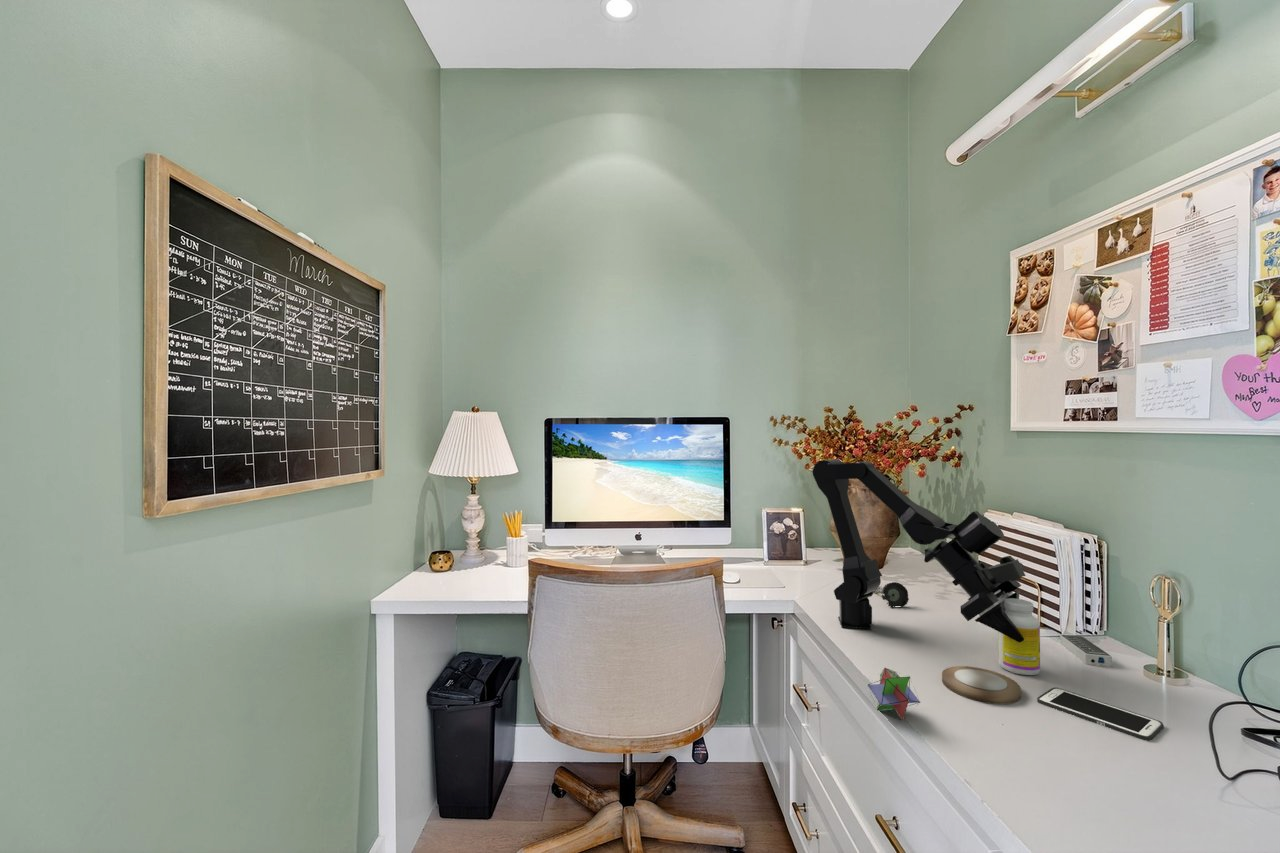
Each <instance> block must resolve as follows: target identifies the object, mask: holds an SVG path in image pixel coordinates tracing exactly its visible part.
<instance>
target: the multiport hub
mask: <svg viewBox="0 0 1280 853" xmlns="http://www.w3.org/2000/svg"><path fill="white" fill-rule="evenodd" d="M1059 644H1060V646H1062V647H1063V646H1064V647H1065V649H1066V650H1067V651H1068V652H1069V653H1071V654H1072V655H1073V656H1074V657H1075V658H1077V659H1079V660H1080V661H1081V662H1082V663H1084V664H1086V665H1090V666H1098V667H1099V666H1102V667H1113V666H1112V665H1113V660H1112V655H1111V654H1109V653H1108V652H1106V651H1105V650H1104V649H1102V648H1100V647H1099V646H1097V645H1096V644H1094V643H1093V642H1092V641H1090V640H1089V639H1087V637H1084V636H1082V635H1081V636H1080V635H1067V634H1060V635H1059ZM1064 647H1063V648H1064Z"/></svg>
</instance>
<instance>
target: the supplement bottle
mask: <svg viewBox="0 0 1280 853" xmlns="http://www.w3.org/2000/svg"><path fill="white" fill-rule="evenodd" d="M1004 606H1005V613H1006V615H1007V616H1008V617H1009V618H1010V620H1011V621H1012V622H1013V624H1014V625H1015V626H1016V628H1017V629H1018V630H1019V632H1020V633H1021V635H1022V636H1023V638H1024V640H1023V641H1022V642H1017V641H1015V640H1013V639H1012V638H1010V637H1008V636H1006V635H1004V634H1002V633H1000V632H998V631H997V632H998V633H997V636H998V637H997V642H998V644H997V647H998V649H997V650H998V654H997V655H998V664H999V666H1000V667H1001V668H1002V669H1003V670H1006V671H1008V672H1010V673H1012V674H1013V673H1014V674H1017V675H1024V676H1034V675H1035V676H1036V675H1038V674H1039V673H1040V672H1041V632H1040V630H1041V624H1040V621H1039V619H1038V618H1037V617H1035V616H1034V615H1033V611H1034V603H1033V602H1031V601H1030V600H1029V601H1028V600H1025V599H1021V598H1019V599H1015V598H1007V599H1004Z"/></svg>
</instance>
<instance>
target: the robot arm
mask: <svg viewBox="0 0 1280 853" xmlns="http://www.w3.org/2000/svg"><path fill="white" fill-rule="evenodd" d="M811 474H812V476H813V479H814V481H815V483H816V485H817V488H818V489H819V490H820V492H822V494H823V495H824V496H825V498H826V499H827V503H828V506H829V510H830V513H831V517H832V519H833V522H834V526H835V529H836V533H837V538H838V540H839V544H840V547H841V551H842V554H843V564H842V580H843V582H842V583H841V584H839V585H838V586H837V587H835V588H834V589H833V594H834V596H835V599H836V600H837V601H838V602H839V616H838V617H837V618H838V622H839V624H840V627H841V628H844V629H845V628H847V629H861V630H871V629H872V626H871V625H872V624H873V607H872V605H871V604H870V599H869V598H871V597H872V596H873V595H874V593H873V592H876V590H877V589H879V587H880V585H881V583H882V581H881V577H883V574H882V573H881V571H880V568H879V562H878V560H877V558H873V559H871V558H870V557H869V556H868V554H867V553H866V551H865V549H864V544H863V542H862V539H861V535H860V532H859V529H858V526H857V522H856V521H857V520H856V519H855V515H854V512H853V509H852V505H851V502H850V498H849V496H848V495H849V494H848V491H849V483H850V479H851V480H852V479H854V480H855V479H858V480H859V481H860V482H861V483H862V484H863V485H864V486H865V487H866V488H867V489H868V490H869V491H870V492H871V493H872V494H873V495H875V496H876V497H877V498H878V499H879V500H880V501H881V502H882V503H883V504H884V505H885V506H886V507H887V508H888V509H889V510H890V511H892V512H893V514H895V515H896V517H897V518H898V520H899V523H900V524H901V526H902V528H903V530H904V531H905V532H906V534H907V535H908V536H909V537H910V539H911V540H912V541H913V542H915V544H917V545H925V546H926V545H931V544H934V543H937V542H938V544H936V545H935V546H934V547H933V548H931V547H928V548H925V549H924V563H929V562H932V561H934V560H936V561H937V562H938V563H939V564H940V565H941V567H943V568H944V570H945V571H946V572H947V573H948V574H949V575H950V577H952V579H953V580H952V581H951V582H952V583H953V585H954V586H958V585H959V586H960V587H961V588H962V589H963V590H964V592H965V593H966V594H967V595H968V596H969V598H968V599H967V601H966V602H964V603H963V604H961V605H960V614H961V615H962V616H963V618H965V619H966V621H967V622H969V621H971V620H973V619H974V618H975V617H977V616H978V617H977V618H975V619H974V621H975V622H976V623H981V624H982V625H984V626H987V627H989V628H991V629H993V630H995V631H997V632H1000V633H1002V634H1004V635H1006V636H1008V637H1010V638H1012V639H1013V640H1015V641H1017V642H1022V641H1023V640H1024V638H1023V636H1022V635H1021V633H1020V632H1019V630H1018V629H1017V628H1016V626H1015V625H1014V624H1013V622H1012V621H1011V620H1010V618H1009V617H1008V616H1007V615H1006V613H1005V606H1004V599H1007V598H1015V599H1020V593H1021V590H1020V589H1018V588H1021V586H1022V584H1021V583H1020V582H1019V581H1018V580H1021V579H1022V578H1023V577H1026V576H1027V575H1026V573H1025V571H1024V570H1023V567H1024V565H1023V563H1022V562H1020V561H1019V559H1016V558H1014V557H1012V556H1011V555H1006V556H1003V557H1000V559H999V563H997V564H995V565H991V566H989V565H988V564H987V563H986V562H983V561H980V562H978V561H977V559H975V558H974V557H973V555H972V554H974V553H975V554H978V555H981V554H983V553H984V552H985V551H987V550H988V549H989V548H991V547H992V546H993V545H995V544H996V543H997V542H999V541H1000V540H1002V539H1003V538H1004V537H1005V534H1004V532H1003V530H1002V529H1001V528H1000V526H998V525H997V524H996V523H995V522H994V521H992V520H991V519H989V518H988V517H986V516H985V515H983V514H981V513H980V512H979V511H978V510H975V511H972V512H971V513H969V514H968V515H967V516H966V518H965V519H964V520H962V521H961V522H960V523H958V524H956V523H951V522H947V521H945V520H943V518H942V517H940V516H939V515H937V514H936V513H934V512H933V511H931V510H929V509H927V508H925V507H924V506H921V505H919V504H917V503H915V502H914V501H913V500H912V499H910V498H909V496H907V495H906V494H905V493H904V492H903V491H902V490H901V489H899V487H897V486H896V485H895V484H894V483H893V482H892V481H890V480H889V478H888V477H886V476H885V474H883V473H882V472H881V471H880V470H879V469H877V467H876V466H875V465H874V463H873V462H870V461H867V460H866V461H857V462H844V461H842V460H840V459H838V458H833V459H822V460H818V461H817V462H816V463H815V464H814V466H813V468H812V473H811ZM953 536H954V538H952V539H951V540H950V541H948V542H947V541H945V540H944V539H948V538H951V537H953ZM941 540H942V541H941ZM943 540H944V541H943ZM939 541H940V542H939ZM1017 589H1018V590H1017ZM1015 590H1017V591H1015ZM1014 591H1015V592H1014Z"/></svg>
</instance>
